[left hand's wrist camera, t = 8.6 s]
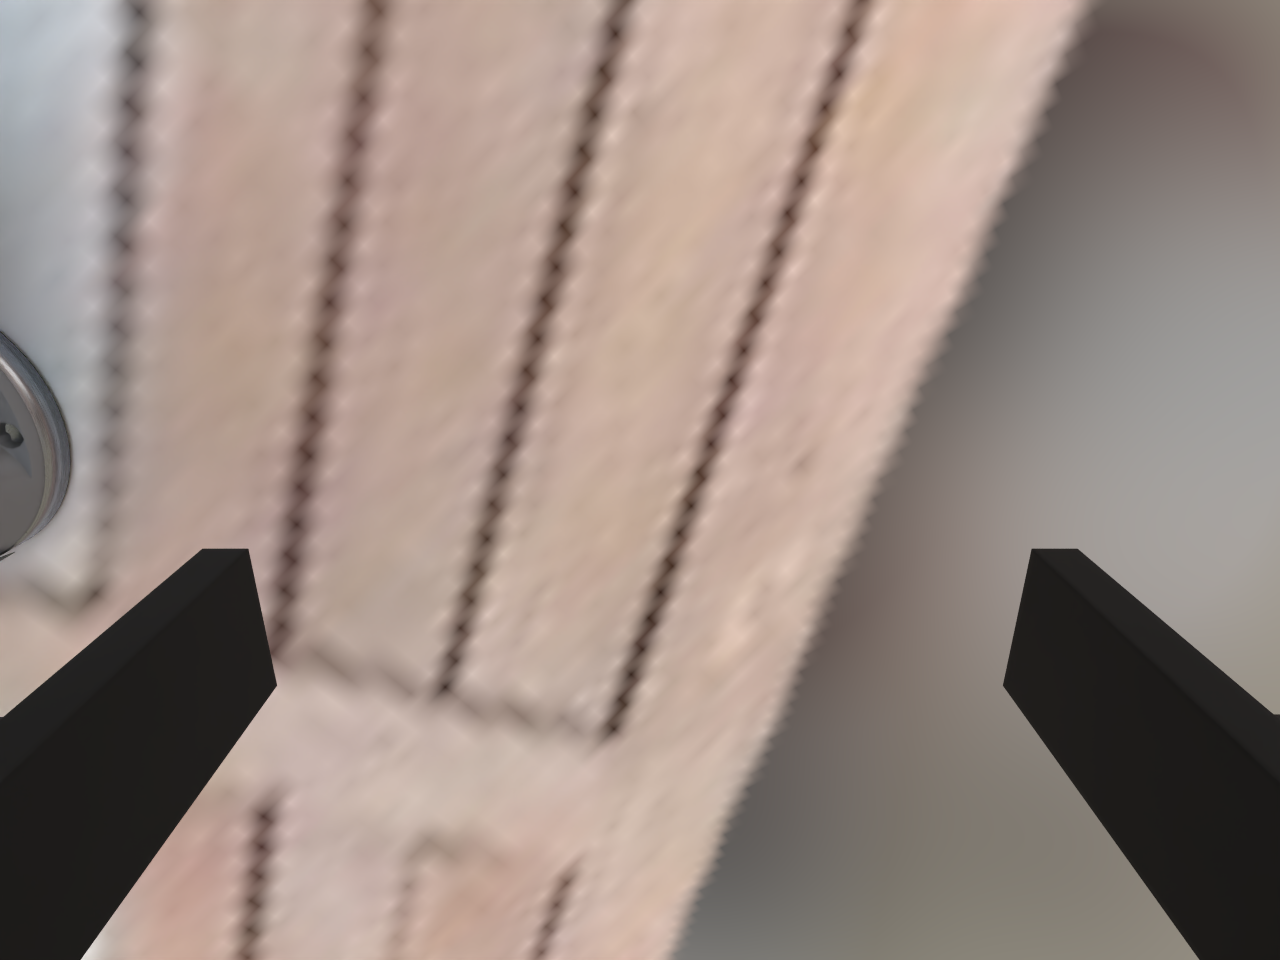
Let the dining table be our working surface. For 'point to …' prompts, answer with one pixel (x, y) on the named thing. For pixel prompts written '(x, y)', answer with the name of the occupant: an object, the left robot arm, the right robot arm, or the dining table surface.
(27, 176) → the dining table surface
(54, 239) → the dining table surface
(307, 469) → the dining table surface
